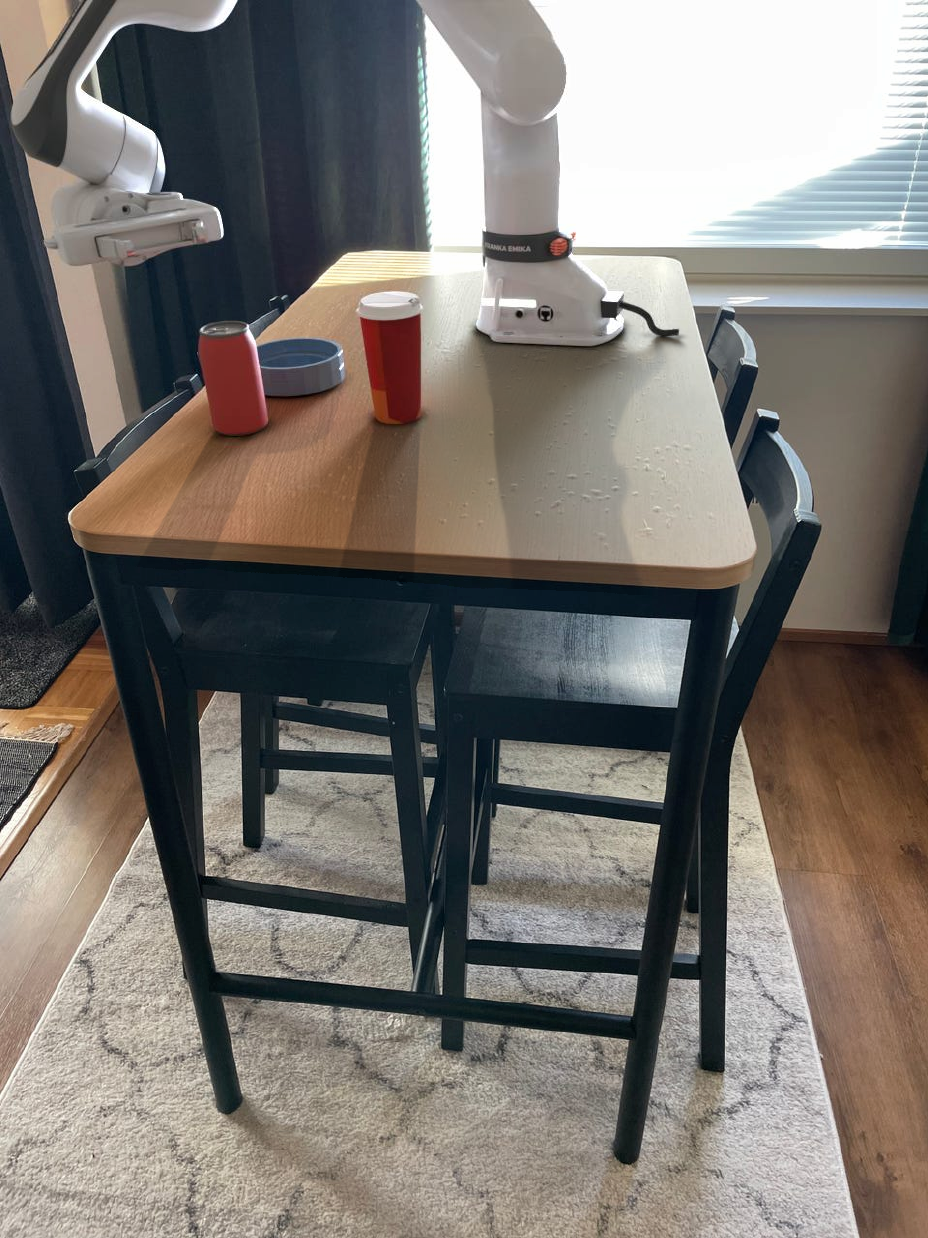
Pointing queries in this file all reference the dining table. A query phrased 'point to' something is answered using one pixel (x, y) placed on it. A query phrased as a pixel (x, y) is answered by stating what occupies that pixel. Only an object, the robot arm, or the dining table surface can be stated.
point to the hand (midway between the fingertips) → (166, 242)
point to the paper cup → (393, 354)
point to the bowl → (300, 366)
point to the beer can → (232, 378)
